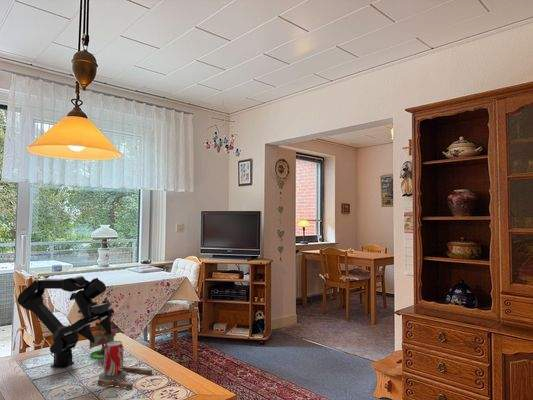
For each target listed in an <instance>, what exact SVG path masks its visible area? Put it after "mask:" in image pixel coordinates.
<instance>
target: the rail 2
mask: <svg viewBox="0 0 533 400" xmlns="http://www.w3.org/2000/svg"><path fill="white" fill-rule="evenodd" d="M123 370H124V371H126V372H127V371H129V372H130V373H135V372H136V373H135V374H143V373H145V374H144V375H152V374H153V369H152V368H151V369H150V368H144V367H143V368H142V367H135V366H127V365H123Z"/></svg>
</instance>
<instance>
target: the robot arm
mask: <svg viewBox="0 0 533 400" xmlns="http://www.w3.org/2000/svg"><path fill="white" fill-rule="evenodd" d="M106 286H107V285H106V284H105V283H104V282H103V280H100V279H99V278H98V277H95V278H93V279H91V281H89V280H87V279H86V278H85V276H83V275H78V276H74V277H68V278H39V279H35V280H33V281H32V283H31V284H30V285H28V286H27V287H25V288H24V290H22V291H21V293H19V294H18V296H17V303H18V304H19V306H21V307H22V308H23V309H25V310H27V311H30V312H31V313H33V314H34V315H35V316H36V318H38V319H39V321H40V322H41V323H42V324H43V325H44V326H45V327H46V328H47V330H48V331H49V333H51V335H52V341H53V344H52V345H50V346H49V352H50V353H51V354H53V364H51V365H50V368H56V369H65V368H68V367H69V366H71V365H73V364H75V361H74V360H73V349H74V348H76V346H77V344H78V341H79V335H80V336H82V337H83V338H85V339H87V340H88V341H89V342H90V341H91V342H92V343H94V342H95V339H94V337H93V335H94V334H93V333H92V331H91V330H92V329H91V323H93V322H96V321H98V320H100V322H99V323H100V324H101V325H102V326H103V328H104V329H105V331H106V332H107V333H108V334H109V335H110V334H111V319H112V317H114V314H115V309H113V308H112V307H111V302H110V300H109V299H105V300H103V301H101V303H100V304H98V302H97V301H94V300H93V299H96V298H97V297H98V296H100V295H102V294H103V293H104V292H106V290H107V287H106ZM47 289H48V290H49V289H50V290H51V289H54V290H56V289H57V290H58V289H59V290H60V289H61V290H62V291H65V292H70V293H71V294H70V296H69V299H68V300H69V301H73V300H74V301H75V304H76V305H77V308H78V311H77V313H78V314H81V315H82V318H80V319H78V320H76V321H75V322H74V323H72V324H70V325H67V326H66V325H63V323H61V321H60V320H59V319H58V318H57V317H56V315H54V313H53V312H52V311H51V310H50V309H49V308H48V307H47V306H46V305H45V304H44V297H43V296H44V294H45V290H47ZM76 291H77V292H76Z"/></svg>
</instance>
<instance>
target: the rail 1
mask: <svg viewBox="0 0 533 400" xmlns="http://www.w3.org/2000/svg"><path fill="white" fill-rule="evenodd" d="M99 384H104V385H103V386H106V385H113V386H119V387H118V388H120V387H126V388H125V389H127V388H131V389H133V388H132V387H134V384H133V382H126V381H118V380H114V381H112V380H105V379H99V378H98V380H97V385H99ZM113 386H112V387H113Z"/></svg>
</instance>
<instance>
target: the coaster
mask: <svg viewBox="0 0 533 400" xmlns="http://www.w3.org/2000/svg"><path fill="white" fill-rule="evenodd" d="M125 375H127V371H124V370H123V371H122V372H121V373H120V374H119V375H117V376H113V377H110V376H107V375H105V374H104V371H103V372H102V373H100V374H99V375H98V380H99V379H105V380H114V381H117V380H116V379H119V380H120V378H121V379H123V378H125V377H126V376H125ZM124 376H125V377H124ZM122 377H123V378H122Z"/></svg>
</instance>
